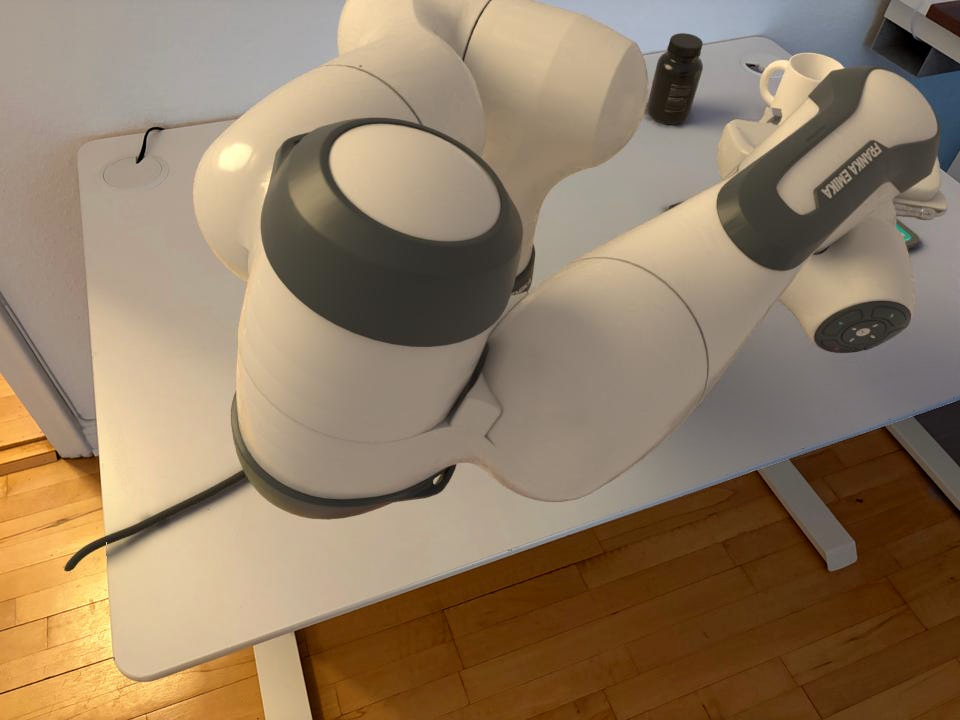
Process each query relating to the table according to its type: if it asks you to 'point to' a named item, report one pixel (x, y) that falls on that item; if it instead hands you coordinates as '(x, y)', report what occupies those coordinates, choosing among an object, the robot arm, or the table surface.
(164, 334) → the table surface
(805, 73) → the mug
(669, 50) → the supplement bottle
